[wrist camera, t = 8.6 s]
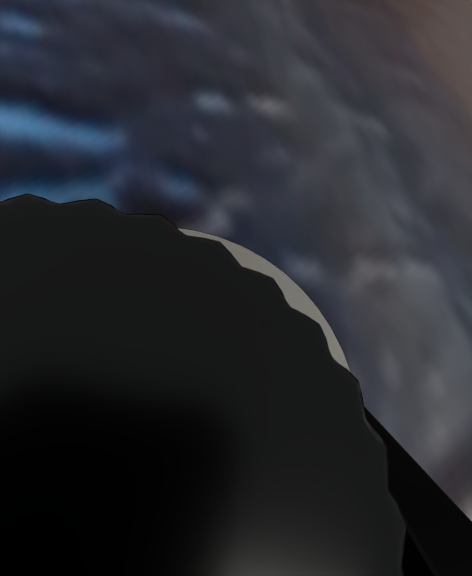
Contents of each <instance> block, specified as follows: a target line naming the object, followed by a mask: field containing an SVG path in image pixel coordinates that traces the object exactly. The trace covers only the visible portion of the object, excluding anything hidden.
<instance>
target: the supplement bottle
mask: <svg viewBox="0 0 472 576" xmlns="http://www.w3.org/2000/svg"><path fill="white" fill-rule="evenodd" d="M405 535H406V520H405V518H404V516H403V513H402V511H401V509H400V507H399V504H398V503H397V501H396V499H395V497H394V496H393V494H392V492H391V490H390V489H389V461H388V447H387V446H386V444H385V443H384V441H383V440H382V438H381V437H380V435H379V434H378V432H377V431H376V430H375V429H374V428H373V427H372V426H371V425H370V424H369V422H368V421H367V419H366V418H365V411H364V404H363V397H362V393H361V389H360V385H359V381H358V380H357V379H356V378H355V377H354V376H353V374H352V373H351V372H350V371H349V370H348V369H347V368H345V367H344V366H342V365H340V364H339V363H338V362H337V361H336V360H335V359H334V358H333V357H332V355H331V352H330V350H329V347H328V342H327V339H326V336H325V334H324V332H323V330H322V327H321V325H320V324H319V323H318V322H316V321H314V320H313V319H311V318H310V317H308V316H307V315H305V314H303V313H301V312H300V311H298V310H296V309H294V308H292V307H290V305H289V304H288V302H287V301H286V299H285V297H284V294H283V292H282V290H281V289H280V287H279V286H278V284H277V283H276V281H275V280H274V278H272V277H270V276H267V275H265V274H263V273H260V272H258V271H255V270H252V269H249V268H246V267H243V266H241V265H240V264H239V262H238V261H237V260H236V258H235V257H234V256H233V255H232V253H231V252H230V251H229V250H228V249H227V248H226V247H225V246H224V245H223V244H222V243H221V242H220V241H216V240H212V239H208V238H203V237H196V236H189V235H186V234H184V233H183V232H181V231H180V230H179V229H178V228H177V227H176V226H175V225H174V224H173V223H172V222H171V221H169V220H168V219H166V218H165V217H164V216H162V215H157V214H125V213H123V212H120V211H118V210H117V209H115V208H114V207H113V206H112V205H110V204H107V203H105V202H103V201H101V200H99V199H87V200H78V201H73V202H67V203H62V204H59V203H55V202H52V201H49V200H47V199H45V198H43V197H39V196H35V195H31V194H23V195H20V196H16V197H13V198H9V199H6V200H4V201H1V202H0V576H404V573H403V569H402V565H401V564H402V558H403V552H404V545H405Z"/></svg>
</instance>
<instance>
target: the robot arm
mask: <svg viewBox="0 0 472 576" xmlns="http://www.w3.org/2000/svg"><path fill="white" fill-rule="evenodd" d="M364 411H365V418H366V419H367V421H368V422H369V424H370V425H371V426H372V427H373V428H374V429H375V430H376V431H377V432H378V434H379V435H380V437H381V438H382V440H383V441H384V443H385V444H386V446H387V447H388V461H389V489H390V490H391V492H392V494H393V496H394V497H395V499H396V501H397V503H398V504H399V507H400V509H401V511H402V513H403V516H404V518H405V520H406V535H405V545H404V552H403V558H402V564H401V565H402V569H403V573H404V576H472V522H471V520H470V519H469V518H468V517H467V516H466V515H465V514H464V513H463V512H462V511H461V510H460V509H459V508H458V506H457V505H456V504H455V503H454V502H453V501H452V500H451V499H450V498H449V497H448V496H447V495H446V494H445V492H444V491H443V490H442V489H441V488H440V487H439V486H438V485H437V484H436V483H435V482H434V481H433V480H432V479H431V477H430V476H429V475H428V474H427V473H426V472H425V471H424V470H423V469H422V468H421V467H420V466H419V465H418V463H417V462H416V461H415V460H414V459H413V458H412V457H411V456H410V455H409V454H408V453H407V452H406V451H405V450H404V448H403V447H402V446H401V445H400V444H399V443H398V442H397V441H396V440H395V439H394V438H393V437H392V436H391V434H390V433H389V432H388V431H387V430H386V429H385V428H384V427H383V426H382V425H381V424H380V423H379V422H378V421H377V419H376V418H375V417H374V416H373V415H372V414H371V413H370V412H369V411H368V410H367V409H366V408H365V407H364Z"/></svg>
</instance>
